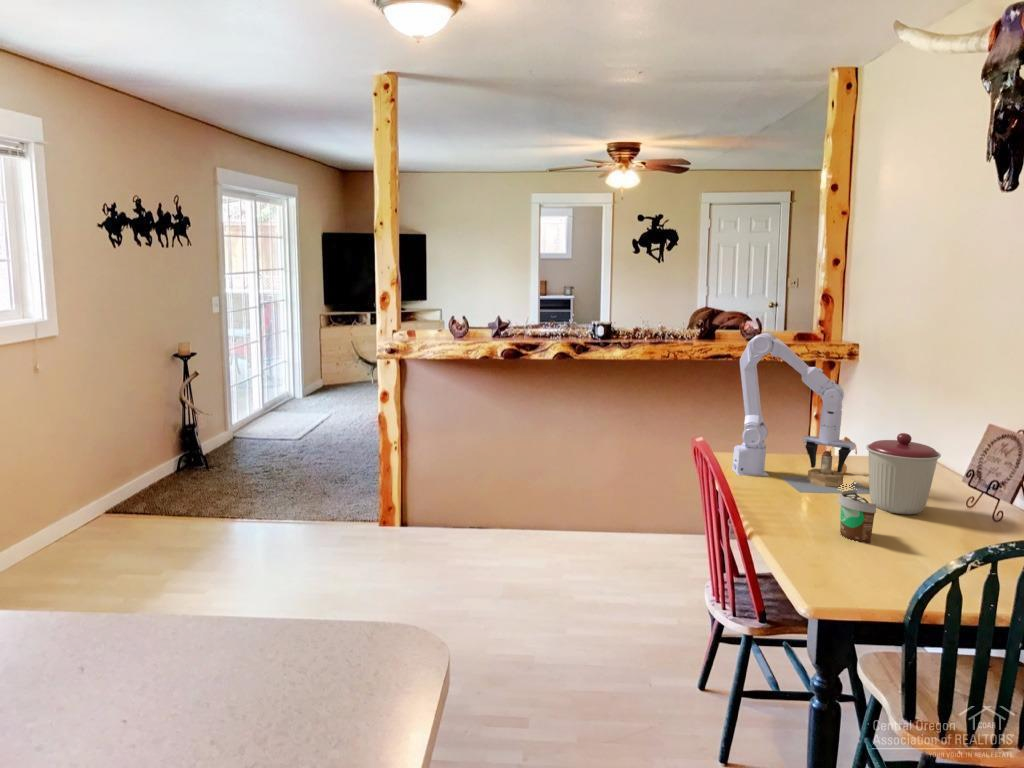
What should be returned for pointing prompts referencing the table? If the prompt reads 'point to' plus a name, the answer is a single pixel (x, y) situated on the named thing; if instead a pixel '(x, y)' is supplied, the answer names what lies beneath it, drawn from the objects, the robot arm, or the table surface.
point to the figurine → (844, 463)
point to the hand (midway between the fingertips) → (826, 469)
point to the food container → (856, 516)
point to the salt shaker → (826, 463)
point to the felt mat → (819, 486)
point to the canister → (901, 474)
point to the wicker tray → (825, 478)
